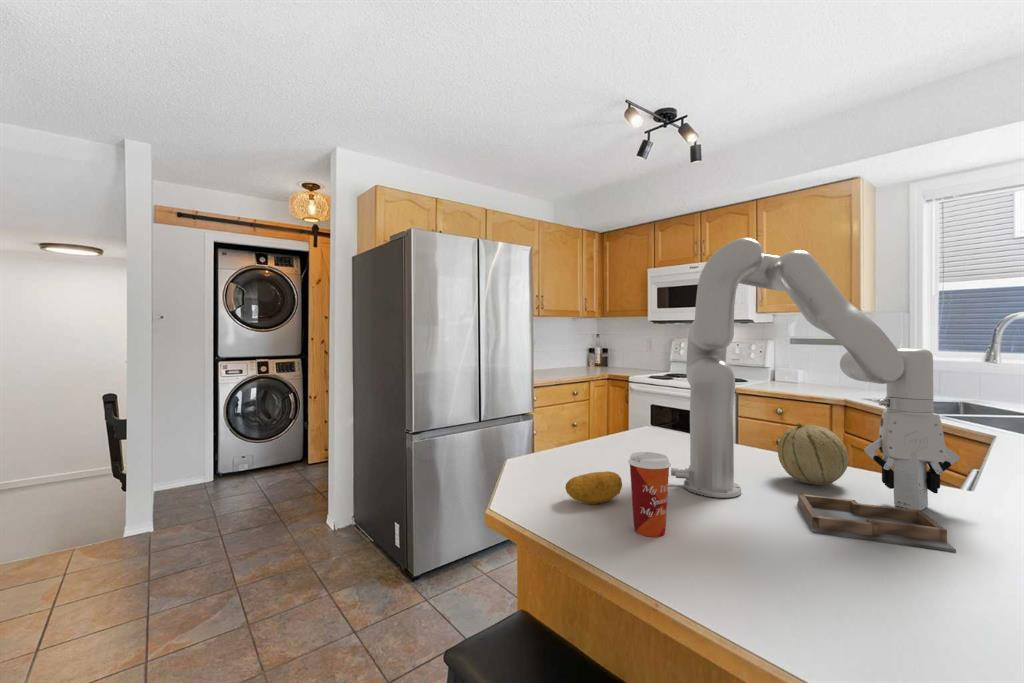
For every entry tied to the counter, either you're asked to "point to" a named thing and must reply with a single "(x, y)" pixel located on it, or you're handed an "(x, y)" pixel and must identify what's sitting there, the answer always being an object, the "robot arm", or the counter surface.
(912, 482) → the skincare box
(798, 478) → the cantaloupe
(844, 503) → the angular wooden tray
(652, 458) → the paper cup
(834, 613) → the counter surface
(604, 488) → the potato
